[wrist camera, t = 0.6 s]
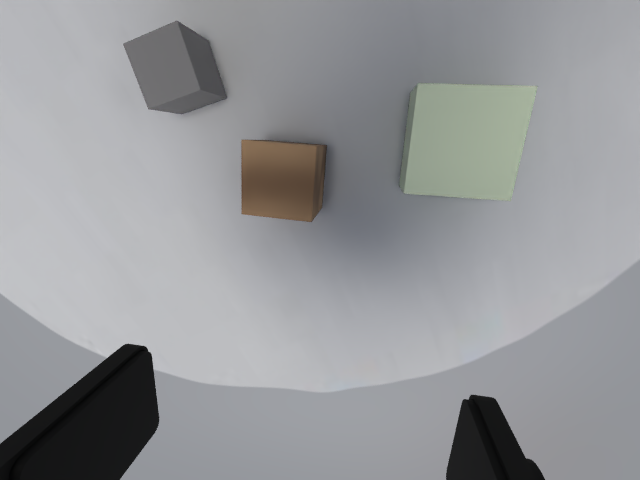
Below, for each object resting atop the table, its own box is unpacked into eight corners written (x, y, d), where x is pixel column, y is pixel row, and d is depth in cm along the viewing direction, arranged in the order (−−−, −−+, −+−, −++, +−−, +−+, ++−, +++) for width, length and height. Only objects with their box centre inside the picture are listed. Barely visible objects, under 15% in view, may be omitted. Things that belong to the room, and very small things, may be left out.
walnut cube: (265, 140, 30) (241, 139, 25) (327, 145, 30) (316, 145, 24) (264, 201, 32) (241, 214, 27) (322, 207, 32) (311, 221, 26)
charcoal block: (162, 59, 30) (123, 43, 25) (208, 40, 29) (176, 20, 24) (182, 114, 31) (148, 109, 26) (227, 98, 30) (200, 89, 25)
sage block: (410, 92, 27) (418, 83, 23) (507, 95, 26) (537, 86, 22) (398, 185, 30) (403, 193, 25) (487, 191, 29) (510, 201, 24)
